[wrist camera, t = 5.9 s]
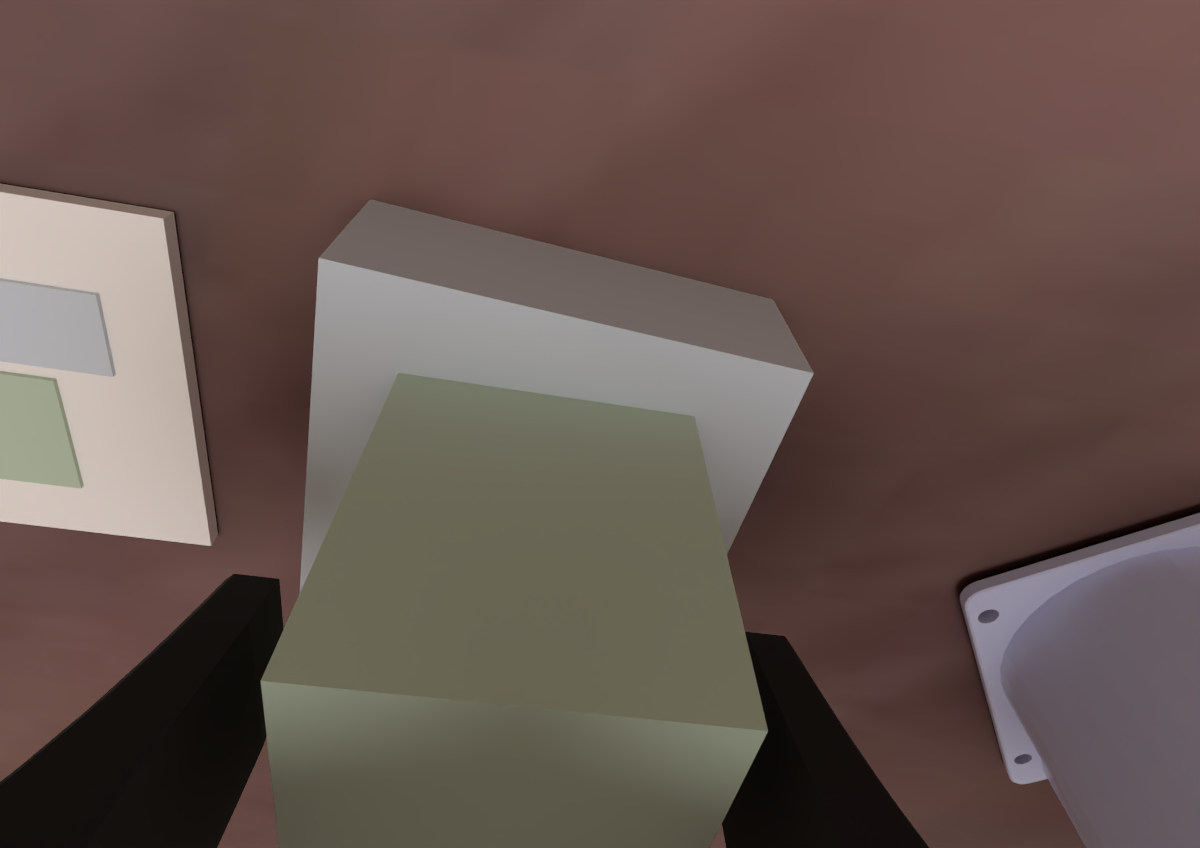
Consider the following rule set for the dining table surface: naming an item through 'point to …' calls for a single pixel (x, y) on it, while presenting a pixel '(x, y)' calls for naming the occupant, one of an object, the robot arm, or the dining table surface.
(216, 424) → the dining table surface
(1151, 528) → the robot arm
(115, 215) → the card
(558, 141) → the dining table surface
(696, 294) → the slate base
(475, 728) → the sage block
